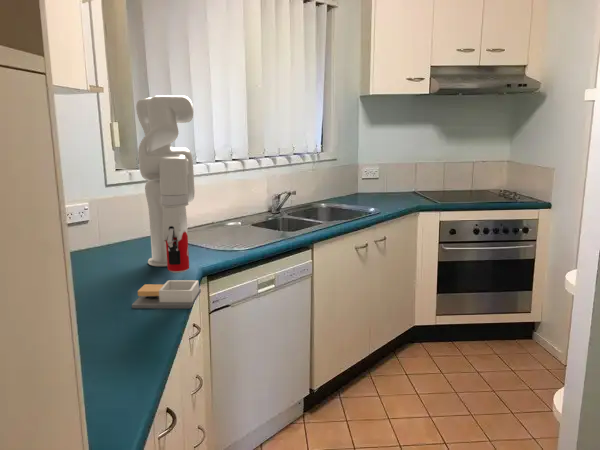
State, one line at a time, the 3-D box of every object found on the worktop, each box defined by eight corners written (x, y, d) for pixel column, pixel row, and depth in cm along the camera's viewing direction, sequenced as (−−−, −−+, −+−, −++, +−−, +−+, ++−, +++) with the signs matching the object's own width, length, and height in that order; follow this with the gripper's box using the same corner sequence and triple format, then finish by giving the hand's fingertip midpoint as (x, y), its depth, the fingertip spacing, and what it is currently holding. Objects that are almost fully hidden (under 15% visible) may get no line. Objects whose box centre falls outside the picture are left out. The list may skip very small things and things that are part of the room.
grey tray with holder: (147, 291, 158) (146, 277, 157) (200, 291, 158) (200, 278, 157) (132, 308, 144) (130, 293, 143) (190, 308, 144) (189, 293, 143)
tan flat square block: (145, 292, 154) (144, 284, 153) (166, 292, 154) (165, 284, 153) (138, 299, 148) (137, 291, 147) (160, 299, 148) (159, 291, 147)
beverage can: (191, 267, 152) (189, 228, 150) (187, 273, 146) (185, 232, 143) (170, 267, 152) (167, 228, 149) (165, 274, 146) (163, 233, 143)
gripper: (169, 195, 153) (173, 253, 157) (152, 205, 136) (156, 269, 140) (194, 195, 153) (197, 253, 157) (180, 205, 136) (183, 269, 140)
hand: (178, 260), depth 148 cm, fingers closed on beverage can, 6 cm apart
